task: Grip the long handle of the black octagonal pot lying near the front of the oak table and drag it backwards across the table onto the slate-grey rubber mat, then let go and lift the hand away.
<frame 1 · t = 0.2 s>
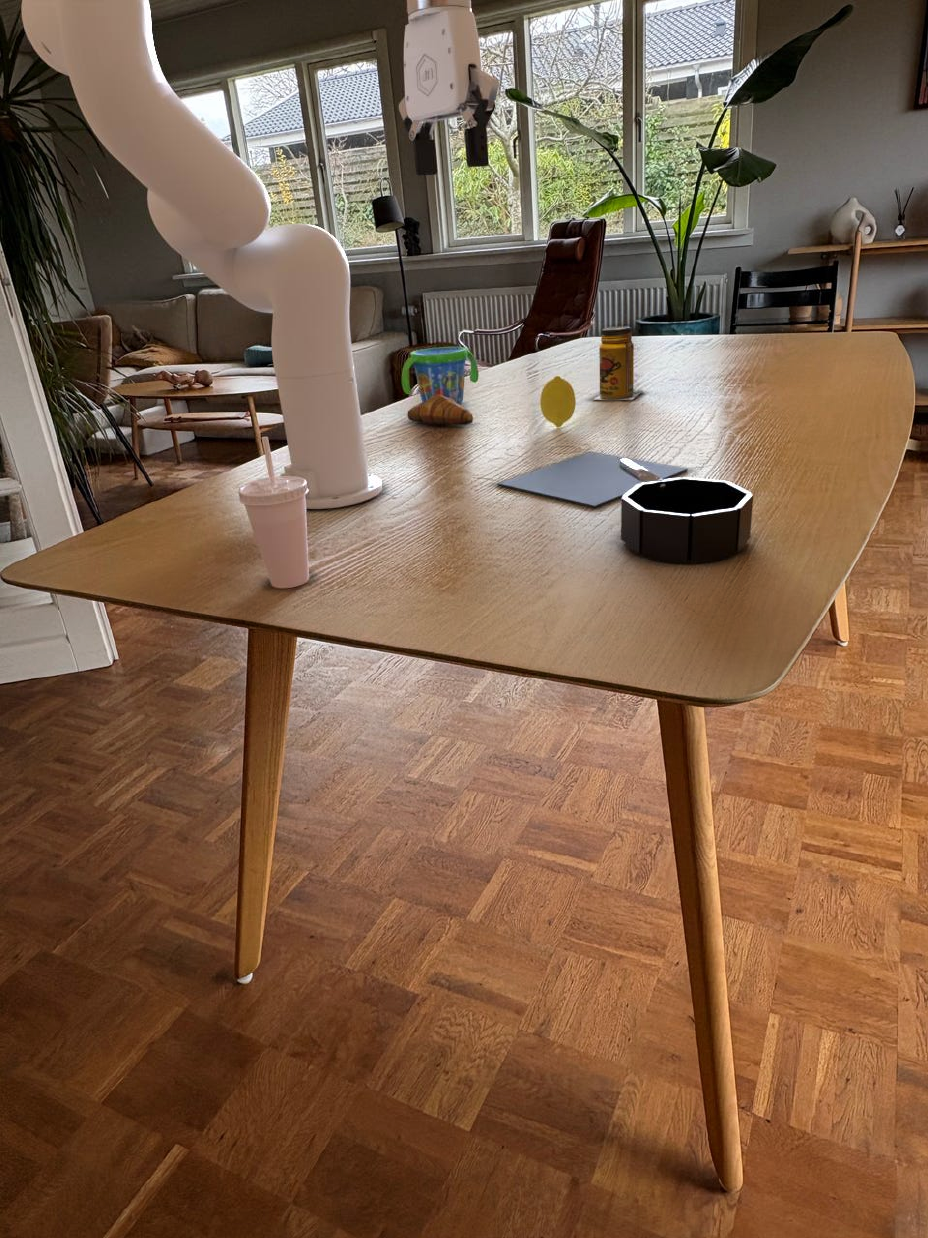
hand: (451, 170, 102), 36 cm above the table, tool pointing down, fingers open, 9 cm apart
smoothie: (290, 582, 79), on the table
black octagonal pot: (684, 541, 80), on the table
lemon: (558, 428, 129), on the table
croissant: (440, 424, 139), on the table
snack cup: (443, 407, 152), on the table
mat: (592, 478, 102), on the table
condiment: (618, 397, 148), on the table
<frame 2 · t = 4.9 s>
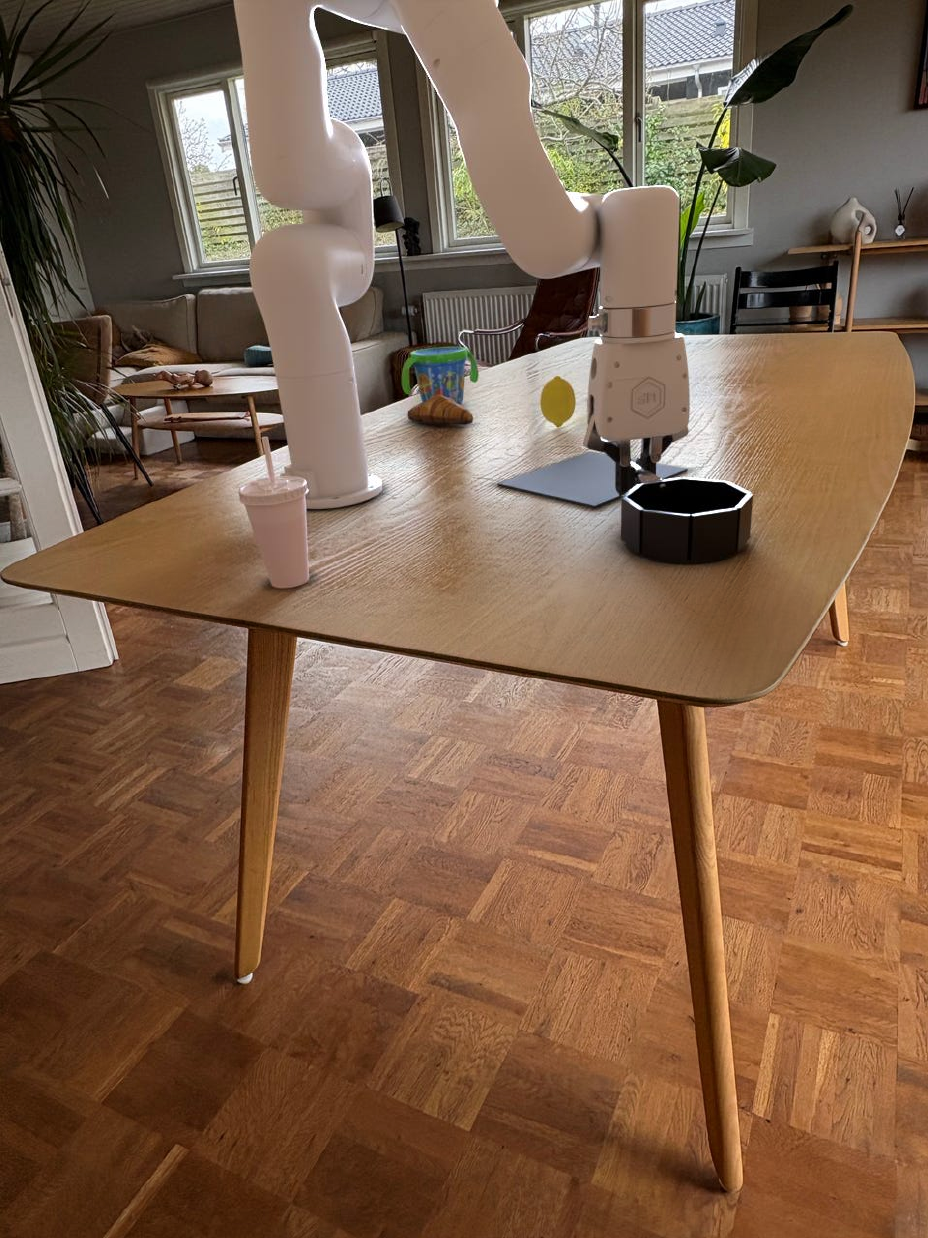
hand: (635, 496, 90), 1 cm above the table, tool pointing down, fingers closed on black octagonal pot
black octagonal pot: (684, 541, 80), on the table, touching gripper
everything else where it was.
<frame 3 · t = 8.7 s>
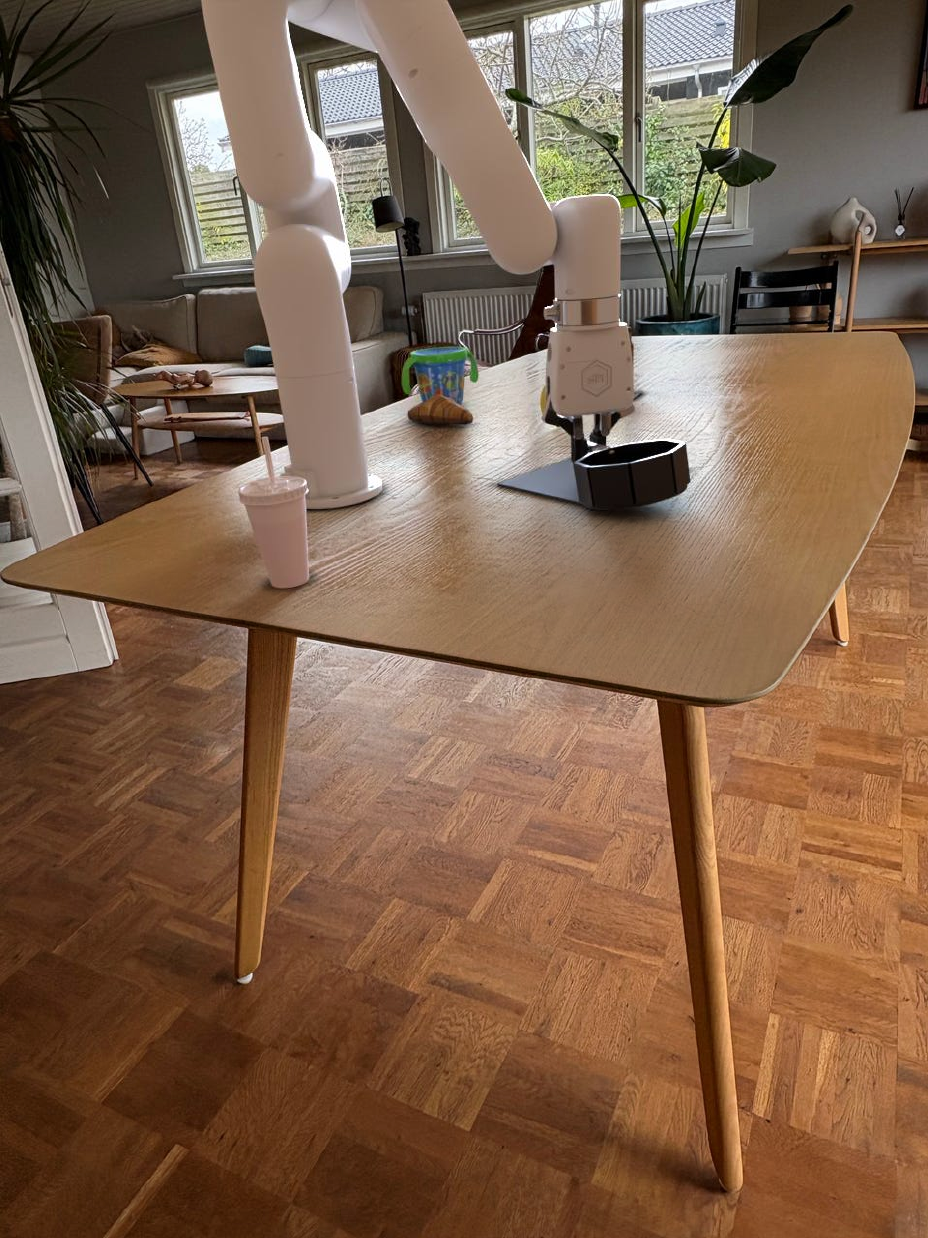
hand: (588, 466, 103), 1 cm above the table, tool pointing down, fingers closed on black octagonal pot
black octagonal pot: (634, 494, 91), point 1 cm above the table, tilted 10°, touching gripper
everything else where it was.
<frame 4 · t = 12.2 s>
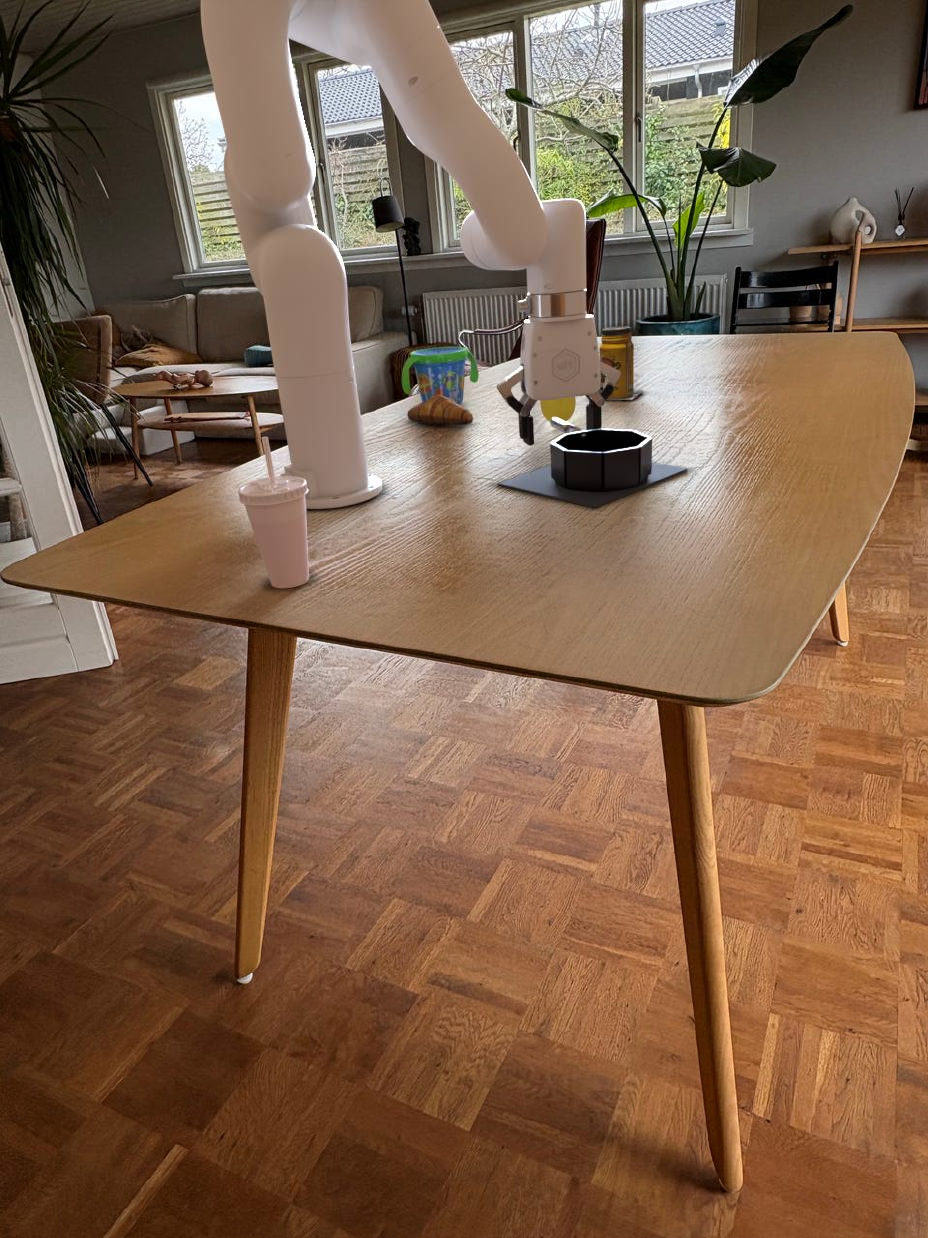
hand: (560, 438, 112), 2 cm above the table, tool pointing down, fingers open, 9 cm apart
black octagonal pot: (600, 478, 101), resting on mat
everything else where it was.
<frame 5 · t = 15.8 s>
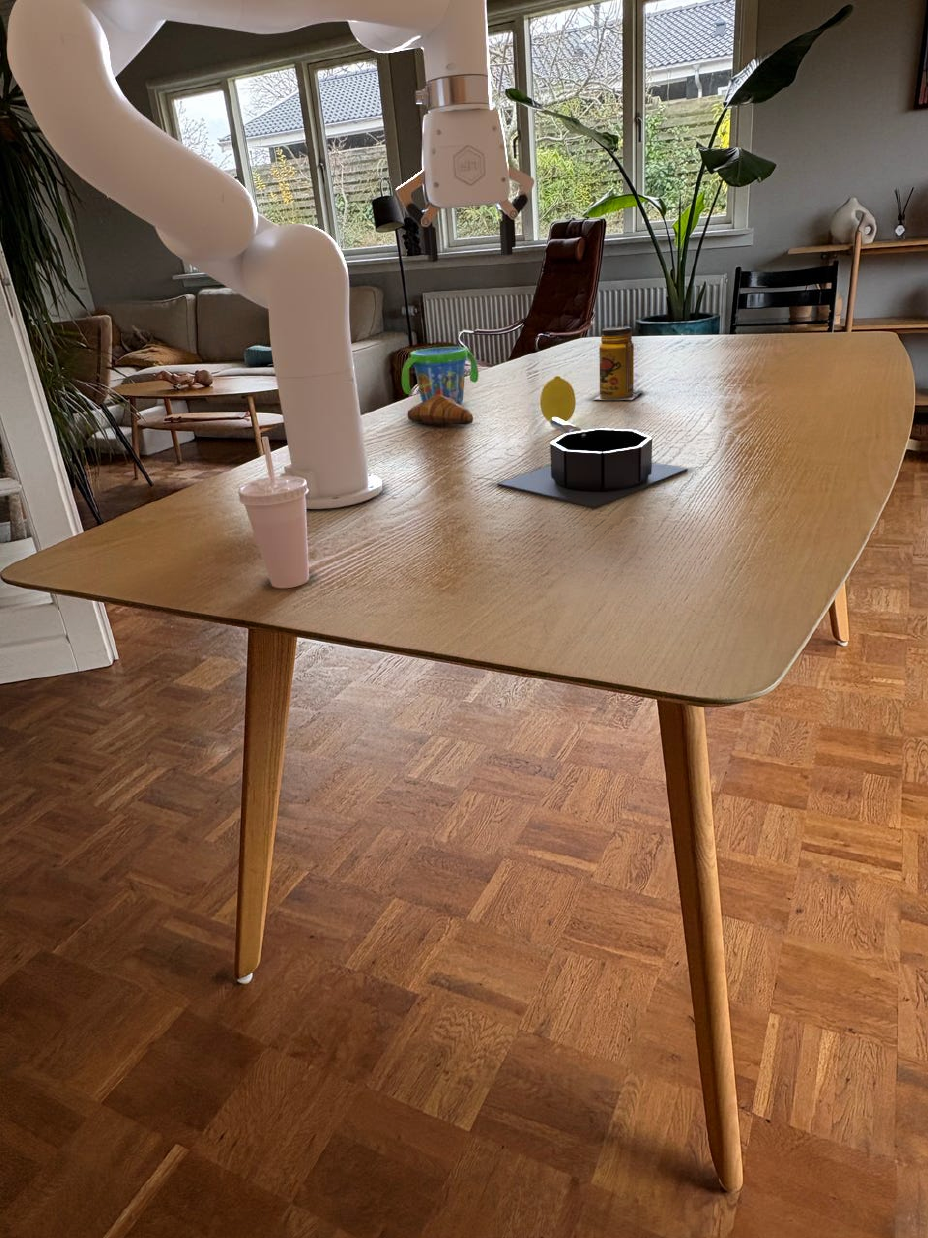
hand: (470, 258, 102), 26 cm above the table, tool pointing down, fingers open, 9 cm apart
nothing on the table moved.
at the end: black octagonal pot inside the target area on the mat (1.6 cm from its centre), point 0.3 cm above the mat's base; black octagonal pot tilted 0°; the gripper is holding nothing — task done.
